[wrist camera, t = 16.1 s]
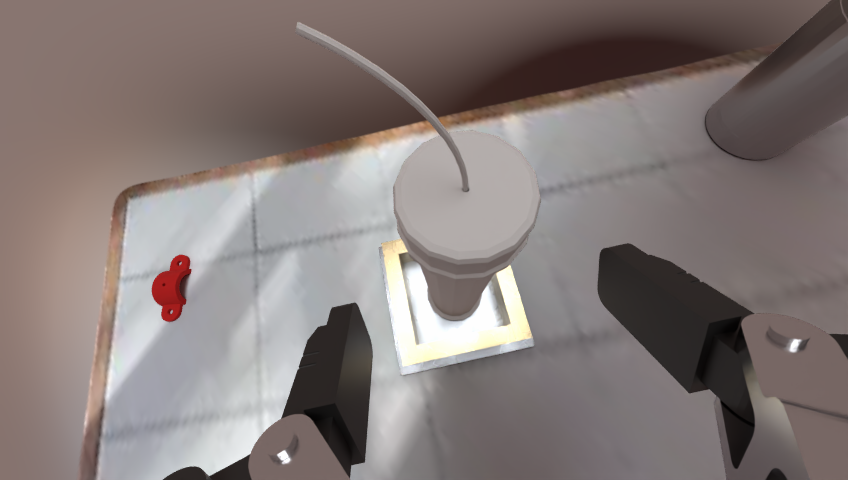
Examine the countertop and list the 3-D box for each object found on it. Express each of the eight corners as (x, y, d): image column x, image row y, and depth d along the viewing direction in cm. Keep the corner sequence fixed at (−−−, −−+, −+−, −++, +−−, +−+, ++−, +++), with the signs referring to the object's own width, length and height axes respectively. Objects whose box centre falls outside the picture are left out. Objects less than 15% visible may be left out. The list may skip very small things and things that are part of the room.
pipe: (477, 325, 32) (675, 185, 4) (418, 317, 33) (244, 150, 5) (481, 274, 34) (643, -74, 6) (425, 267, 35) (327, -71, 7)
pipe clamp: (174, 257, 39) (159, 252, 37) (195, 255, 39) (181, 250, 37) (162, 322, 37) (144, 321, 35) (184, 320, 36) (168, 319, 34)
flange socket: (495, 223, 37) (502, 206, 32) (532, 345, 32) (546, 346, 28) (380, 249, 37) (370, 236, 32) (402, 374, 33) (394, 380, 28)
